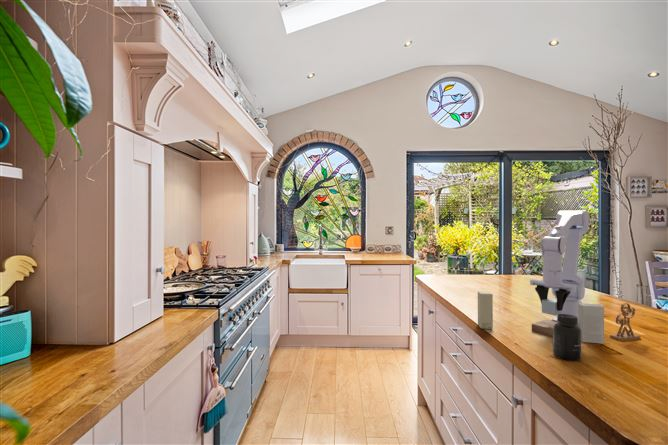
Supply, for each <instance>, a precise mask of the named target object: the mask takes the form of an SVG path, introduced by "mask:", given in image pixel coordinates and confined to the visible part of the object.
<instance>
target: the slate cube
mask: <svg viewBox="0 0 668 445" xmlns="http://www.w3.org/2000/svg"><path fill="white" fill-rule="evenodd" d="M541 313H542V314H546V315H547V314H548V315H550V316H556V317H557V315H558V314H562V310H561V311H558V310H557V299H553V298H547V299H544V300H542V304H541Z"/></svg>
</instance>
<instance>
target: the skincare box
mask: <svg viewBox="0 0 668 445" xmlns="http://www.w3.org/2000/svg"><path fill="white" fill-rule="evenodd" d="M577 326H578V327H579V328H580V329H581V331H582V340H581V343H591V344H601V345H604V344H605V307H604V306H602V305H601V304H597V303H584V302H582V303H578V324H577Z"/></svg>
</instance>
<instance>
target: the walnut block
mask: <svg viewBox="0 0 668 445" xmlns="http://www.w3.org/2000/svg"><path fill="white" fill-rule="evenodd" d="M556 323H558V322H557V321H553V320H552V319H551V320H550V319H544V320H541V321H536V322H532V323H531V332H535V333H538V334H541V335H544V336H548V337H552V338H553V327H554V325H555V324H556Z"/></svg>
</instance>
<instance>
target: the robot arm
mask: <svg viewBox="0 0 668 445" xmlns="http://www.w3.org/2000/svg"><path fill="white" fill-rule="evenodd" d="M589 223H590V214H589V211H588V210H586V209H583V210H562V209H561V210H559V211H557V213H556V224H557V225H555V226H553V227H552V229H550V232H549V233H548V234H547V236H544V237H542V238H541V240H540V252H541V257H542V279H530V280H529V285H530V286H536V287H534V290H535V291H536V293H537V295H538V297H539V301H540V303H541V305H542V300H544V299H548V295H549V291H550V289H551V294H552V295H553V296H554V298H555V299H556V300H557V310H558V311H561V310H562V314H568V315H573V316H576V317H577V318H578V303H583V302H582V300H583V299H584V298H585V294H586V293H585V292H586V291H585V290H586V289H585V285H586V284H585V281H584V280H583V279H582V278H581V277H580V276H579V275H577V273H578V265H579V256H580V248H581V240H582V236H583V235H584V234H587V233H588V230H589V226H590V224H589ZM563 254H564V256H563ZM557 319H558V315H556V317H553V318H551V321H555V322H558V321H557Z"/></svg>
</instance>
